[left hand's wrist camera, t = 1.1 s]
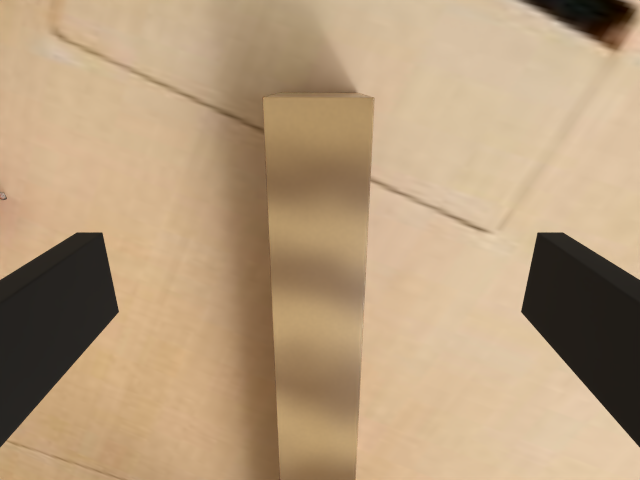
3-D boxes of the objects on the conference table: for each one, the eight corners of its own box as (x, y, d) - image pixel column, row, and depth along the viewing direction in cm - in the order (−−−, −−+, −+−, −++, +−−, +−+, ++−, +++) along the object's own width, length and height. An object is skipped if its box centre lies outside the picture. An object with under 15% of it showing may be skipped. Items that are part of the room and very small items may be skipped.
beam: (280, 92, 26) (262, 97, 18) (358, 92, 26) (374, 97, 18) (295, 613, 46) (290, 722, 38) (339, 613, 46) (343, 722, 38)
